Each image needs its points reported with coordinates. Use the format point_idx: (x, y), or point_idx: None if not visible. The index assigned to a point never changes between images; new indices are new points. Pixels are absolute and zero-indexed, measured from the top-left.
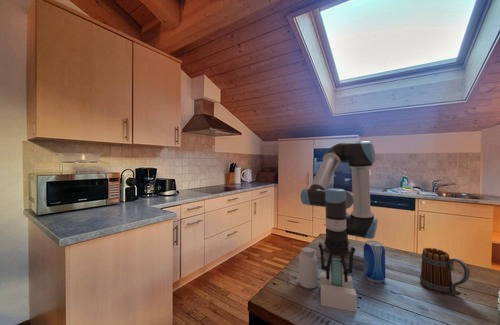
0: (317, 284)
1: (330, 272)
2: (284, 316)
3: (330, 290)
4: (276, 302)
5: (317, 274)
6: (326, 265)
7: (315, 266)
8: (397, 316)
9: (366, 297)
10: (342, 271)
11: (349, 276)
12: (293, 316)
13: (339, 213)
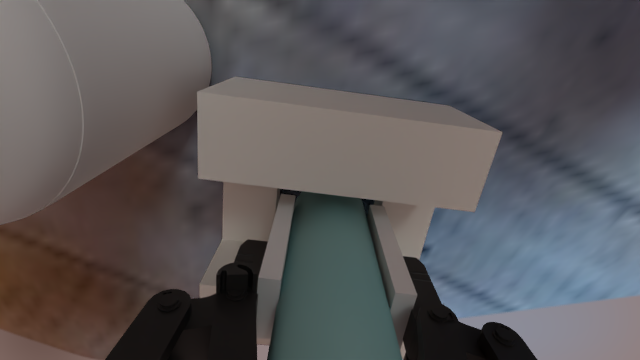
0: (208, 84)
1: (265, 333)
2: (75, 350)
3: (265, 343)
4: (4, 280)
5: (176, 100)
6: (213, 328)
7: (102, 167)
8: (583, 283)
9: (517, 160)
10: (402, 301)
11: (484, 137)
12: (112, 345)
13: None
